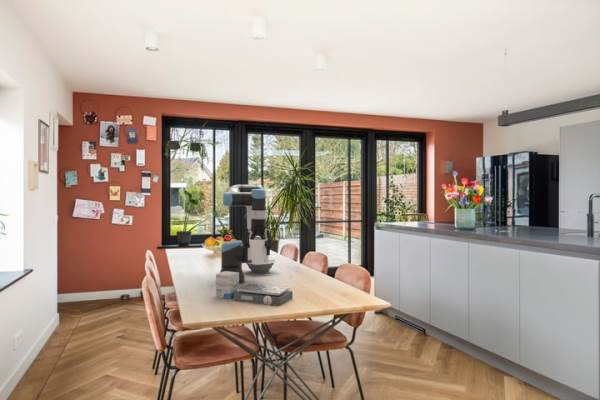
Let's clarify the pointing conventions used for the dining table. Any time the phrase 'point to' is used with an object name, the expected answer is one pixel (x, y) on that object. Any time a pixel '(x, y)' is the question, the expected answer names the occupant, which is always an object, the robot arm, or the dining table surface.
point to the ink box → (227, 284)
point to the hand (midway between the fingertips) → (258, 260)
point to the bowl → (262, 266)
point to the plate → (263, 289)
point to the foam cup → (257, 250)
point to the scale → (263, 297)
